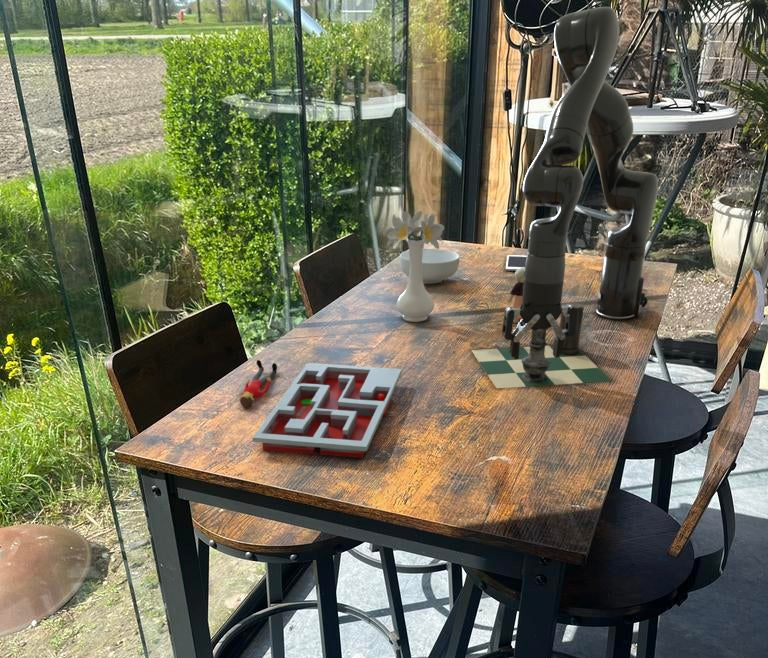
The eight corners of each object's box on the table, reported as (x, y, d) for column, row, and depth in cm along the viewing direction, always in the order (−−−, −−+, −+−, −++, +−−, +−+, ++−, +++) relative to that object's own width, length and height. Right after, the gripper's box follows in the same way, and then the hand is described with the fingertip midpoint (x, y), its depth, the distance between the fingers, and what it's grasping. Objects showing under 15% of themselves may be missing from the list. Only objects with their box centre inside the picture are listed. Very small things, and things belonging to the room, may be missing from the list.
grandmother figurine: (517, 325, 193) (522, 272, 186) (503, 322, 195) (507, 269, 188) (532, 317, 198) (537, 265, 191) (519, 314, 200) (523, 263, 193)
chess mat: (574, 344, 181) (574, 343, 181) (611, 381, 163) (611, 380, 163) (471, 350, 178) (471, 349, 178) (496, 388, 160) (496, 388, 160)
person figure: (276, 354, 165) (251, 388, 149) (283, 372, 166) (259, 407, 151) (254, 360, 166) (227, 394, 151) (261, 378, 168) (235, 413, 153)
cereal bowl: (460, 288, 219) (461, 262, 215) (399, 288, 219) (400, 262, 216) (456, 272, 234) (457, 247, 230) (399, 272, 234) (399, 247, 230)
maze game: (366, 463, 133) (366, 446, 131) (254, 454, 136) (252, 437, 135) (401, 383, 162) (401, 368, 161) (308, 377, 165) (307, 362, 164)
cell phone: (505, 270, 234) (505, 268, 234) (507, 256, 247) (507, 254, 247) (532, 271, 233) (532, 269, 232) (532, 257, 246) (533, 255, 246)
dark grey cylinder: (575, 346, 180) (580, 300, 175) (583, 354, 175) (589, 308, 170) (551, 347, 179) (556, 302, 174) (559, 355, 175) (565, 309, 169)
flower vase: (445, 307, 205) (449, 205, 192) (433, 331, 189) (436, 221, 176) (396, 304, 207) (396, 203, 194) (380, 327, 192) (379, 219, 179)
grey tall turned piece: (531, 385, 161) (536, 327, 154) (514, 375, 165) (519, 319, 159) (554, 380, 163) (561, 322, 157) (537, 370, 167) (542, 314, 161)
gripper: (513, 283, 149) (506, 366, 158) (586, 280, 151) (575, 362, 159) (502, 273, 156) (496, 352, 164) (572, 270, 157) (563, 349, 166)
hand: (535, 357), depth 162 cm, fingers open, 8 cm apart
